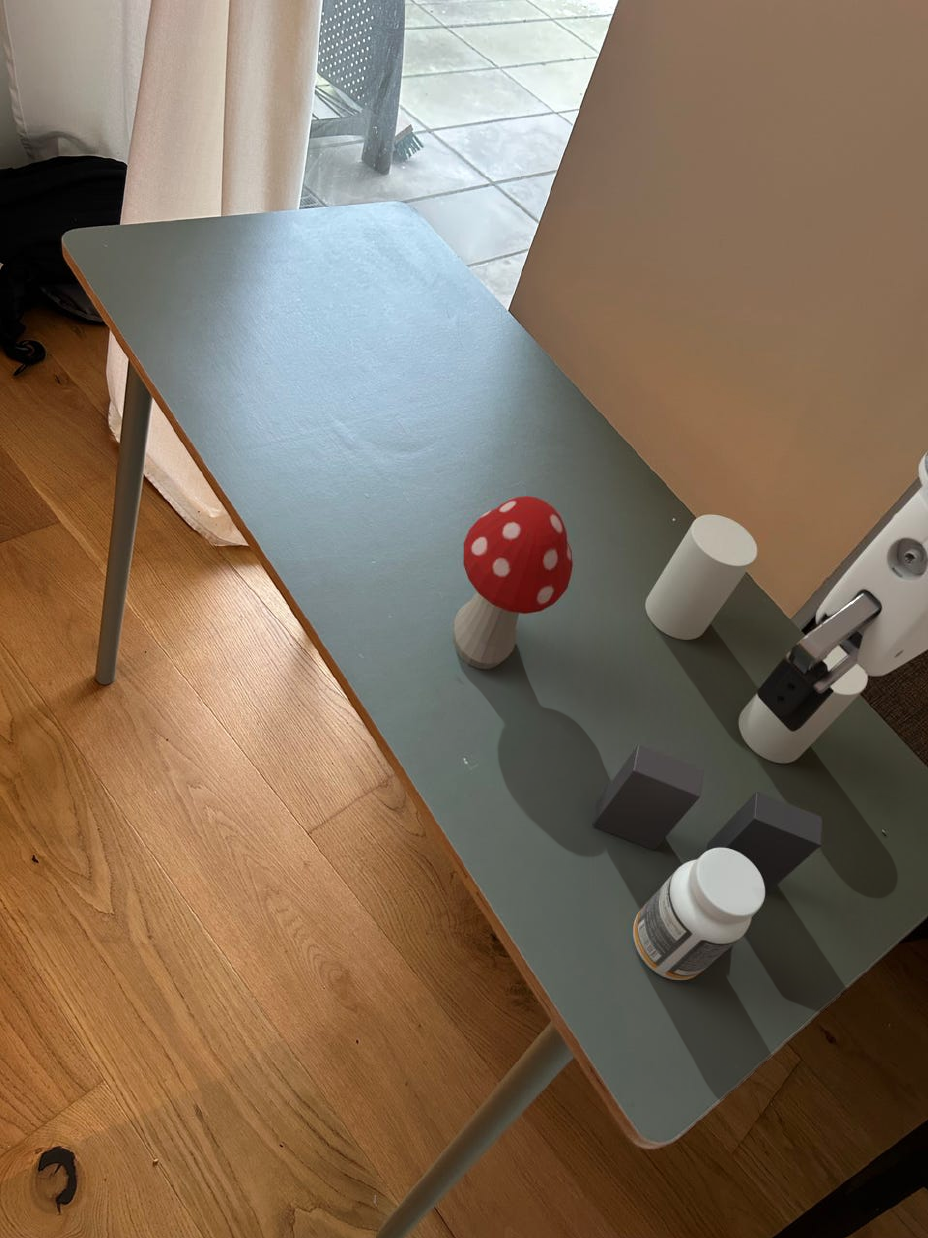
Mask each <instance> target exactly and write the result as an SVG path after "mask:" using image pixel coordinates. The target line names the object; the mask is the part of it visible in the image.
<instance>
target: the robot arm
mask: <svg viewBox="0 0 928 1238" xmlns="http://www.w3.org/2000/svg"><path fill="white" fill-rule="evenodd" d="M918 463H919V464H918V470H917V471H918V478H919V482H920V483H921V487H920V488H919V489H918V490H917V491H916V493H914V495H913V496H912V497H911V498H910V499H909V500H908V502H906V503H905V504H904V506H902V507H901V509H900V510H899V511H898V512H896V513H895V514H894V515H893V516H892V518H891V520H890V521H889V522H888V523H887V524H886V525H885V526H884V528H883V529H882V530H881V531H880V532H879V533H878V534H877V535H876V537H874V539H873V540H871V542H870V544H869V545H868V546H867V547H865V549H864V550H863V551H862V552H861V554H860V555H859V556H858V557H857V559H855V560H854V562H853V563H852V564H851V565H850V567H849V568H848V569H847V570H846V572H844V574H843V575H842V576H841V578H840V579H839V580H838V581H837V582H836V583H835V585H834V586H833V588H831V590H830V591H829V593H828V594H827V596H826V597H825V598H824V599H823V601H822V603H821V604H820V606H819V607H818V609H817V610H816V612H815V624H816V627H815V628H813V629H812V630H811V631H809V632H808V633H807V634H805V635H804V636H803V637H802V638H801V639H800V640H799V641H800V642H799V641H798V643H796V645H794V646H793V647H791V649H790V650H789V651H788V652H787V653H786V654H785V656H784V657H783V658H782V660H781V661H780V662H778V665H777V666H776V667H775V668H774V669H773V670H772V672H771V673H770V674H769V676H768V677H766V679H765V681H764V682H763V683H762V684H761V685H760V687H759V688H758V689H757V691H756V693H757V695H758V697H759V698H760V700H761V701H762V702H763V703H764V704H765V705H766V706H767V707H768V708H769V709H770V710H771V711H772V712H773V713H774V715H775V716H776V717H777V718H778V719H779V720H780V721H781V722H782V723H783V724H784V725H785V726H786V727H787V728H788V729H789V730H790V731H793V732H794V731H796V730H798V729H800V728H801V727H802V726H803V725H804V724H805V723H806V722H807V721H808V720H809V718H810V717H811V716H812V715H813V714H814V713H815V712H816V711H817V710H818V708H819V707H820V706H821V705H822V704H823V703H824V702H825V701H826V700H827V699H828V697H829V696H830V695H831V694H832V693H833V692H834V690H833V689H832V688H831V687H830V686H832V685H833V684H834V683H835V682H836V681H837V680H839V679H840V678H841V677H842V676H843V675H844V674H845V673H847V672H848V671H849V670H850V669H851V668H852V667H854V666H855V665H856V664H858V665H859V666H860V667H861V668H862V669H863V670H865V673H866V674H867V675H868V677H882V676H888V675H889V674H891V673H892V672H894V670H896V669H898V668H900V667H901V666H903V665H905V664H906V663H908V662H909V661H911V660H913V659H915V658H916V657H918V656H919V655H921V654H923V653H924V652H926V651H928V450H927V451H926V453H925V454H924V455H923V456H922V458H921V459H920V461H919V462H918ZM837 646H839V647H840V648H841V649H842V650H843V651H844V652H845V653H846V654H847V655H846V656H845V657H844V658H843V659H842V660H841V661H840V662H838V663H837V664H836V665H835V666H834V667H833V668H832V669H830V670H829V671H828V667H827V665H826V664H825V663H824V661H823V660H824V659H826V658H827V656H828V655H829V653H830V652H831V651H832V650H833V649H835V648H836V647H837Z"/></svg>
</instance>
